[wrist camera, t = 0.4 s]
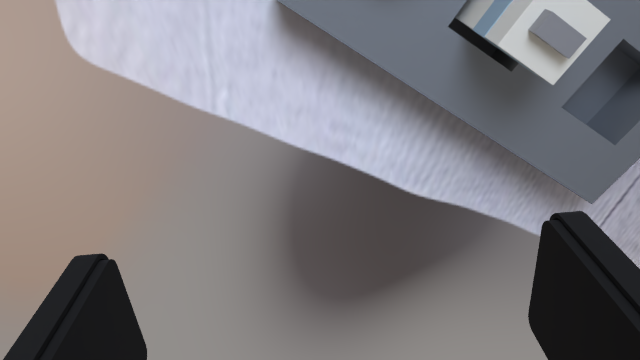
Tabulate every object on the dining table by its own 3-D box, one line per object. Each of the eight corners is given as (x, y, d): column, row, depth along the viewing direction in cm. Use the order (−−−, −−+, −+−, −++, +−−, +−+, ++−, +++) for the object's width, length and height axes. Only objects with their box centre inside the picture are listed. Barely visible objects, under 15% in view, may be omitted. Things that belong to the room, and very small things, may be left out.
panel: (396, -238, 27) (411, -264, 23) (704, 31, 35) (755, 45, 31) (273, -14, 33) (269, -5, 29) (563, 176, 40) (591, 204, 37)
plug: (485, -43, 32) (561, -27, 22) (530, -8, 33) (621, 22, 24) (446, 12, 33) (501, 49, 24) (490, 44, 35) (559, 91, 25)
